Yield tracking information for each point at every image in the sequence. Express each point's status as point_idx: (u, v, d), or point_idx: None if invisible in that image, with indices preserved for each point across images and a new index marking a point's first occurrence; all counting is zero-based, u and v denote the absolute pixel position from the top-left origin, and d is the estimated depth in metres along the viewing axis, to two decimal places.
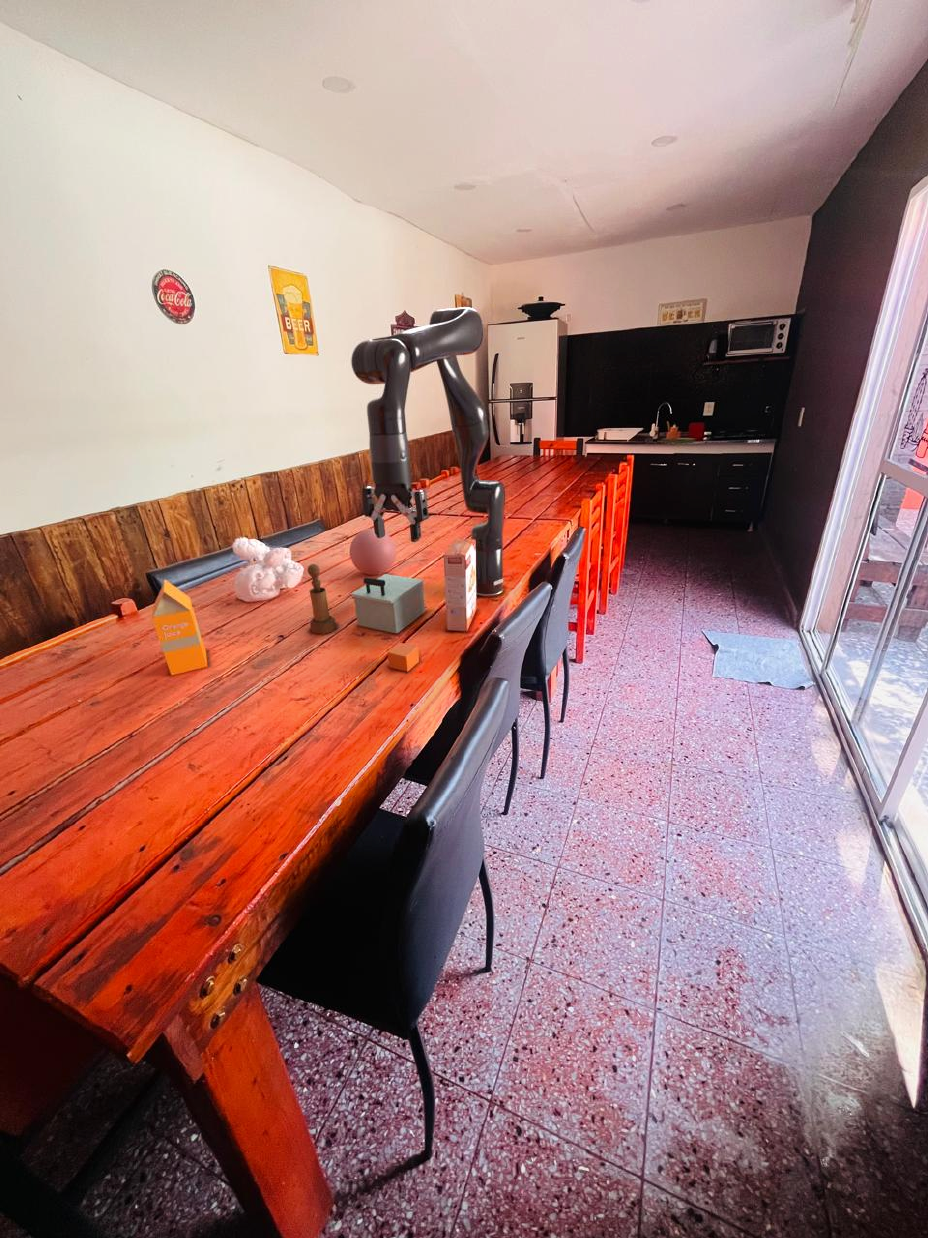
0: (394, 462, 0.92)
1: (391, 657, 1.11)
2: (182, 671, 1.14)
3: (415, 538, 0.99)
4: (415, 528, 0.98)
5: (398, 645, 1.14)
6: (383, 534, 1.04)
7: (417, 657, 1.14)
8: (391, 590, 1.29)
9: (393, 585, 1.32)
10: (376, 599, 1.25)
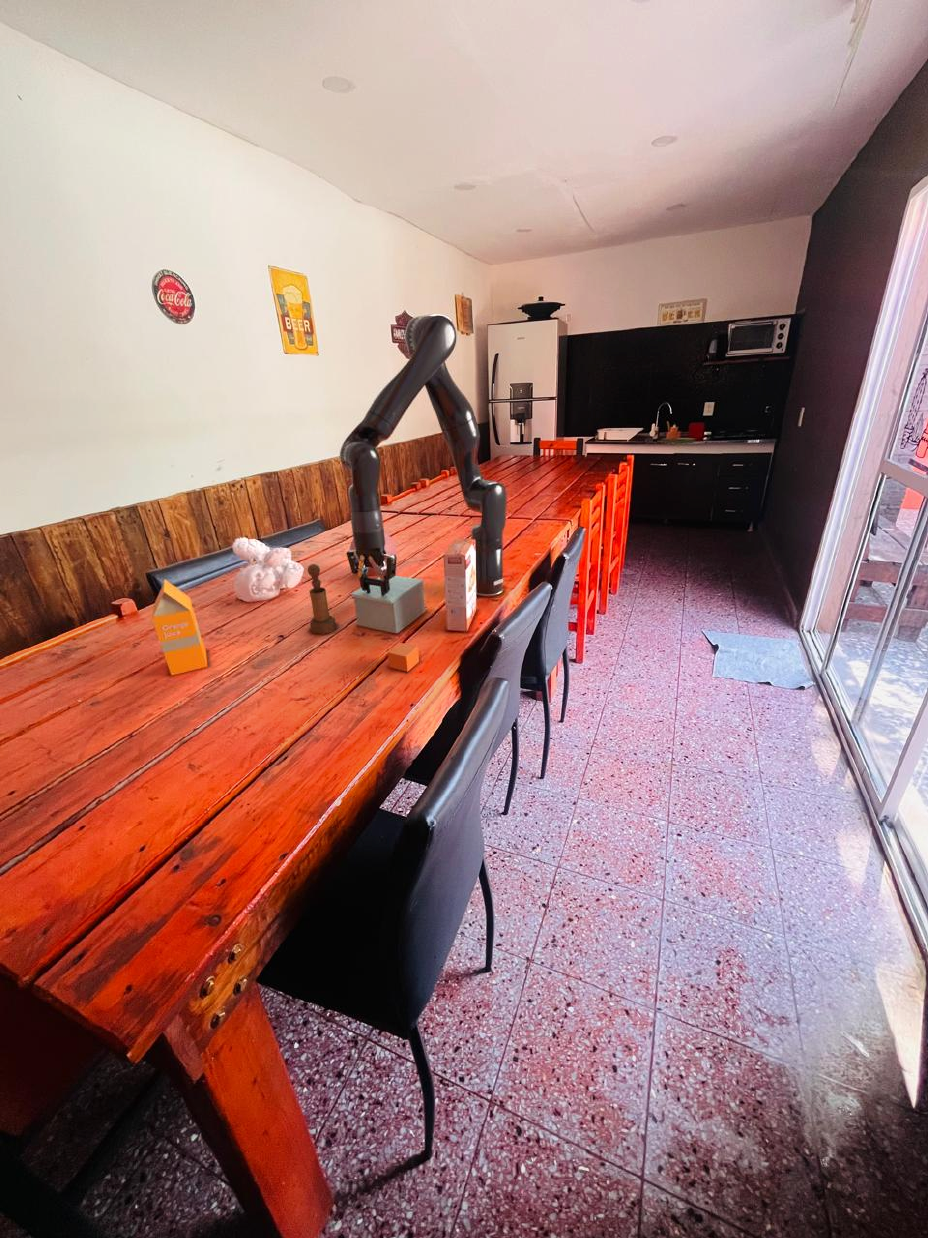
0: (370, 532, 1.16)
1: (391, 657, 1.11)
2: (182, 671, 1.14)
3: (385, 591, 1.24)
4: (384, 584, 1.23)
5: (398, 645, 1.14)
6: None
7: (417, 657, 1.14)
8: (391, 590, 1.29)
9: (393, 585, 1.32)
10: (376, 599, 1.25)
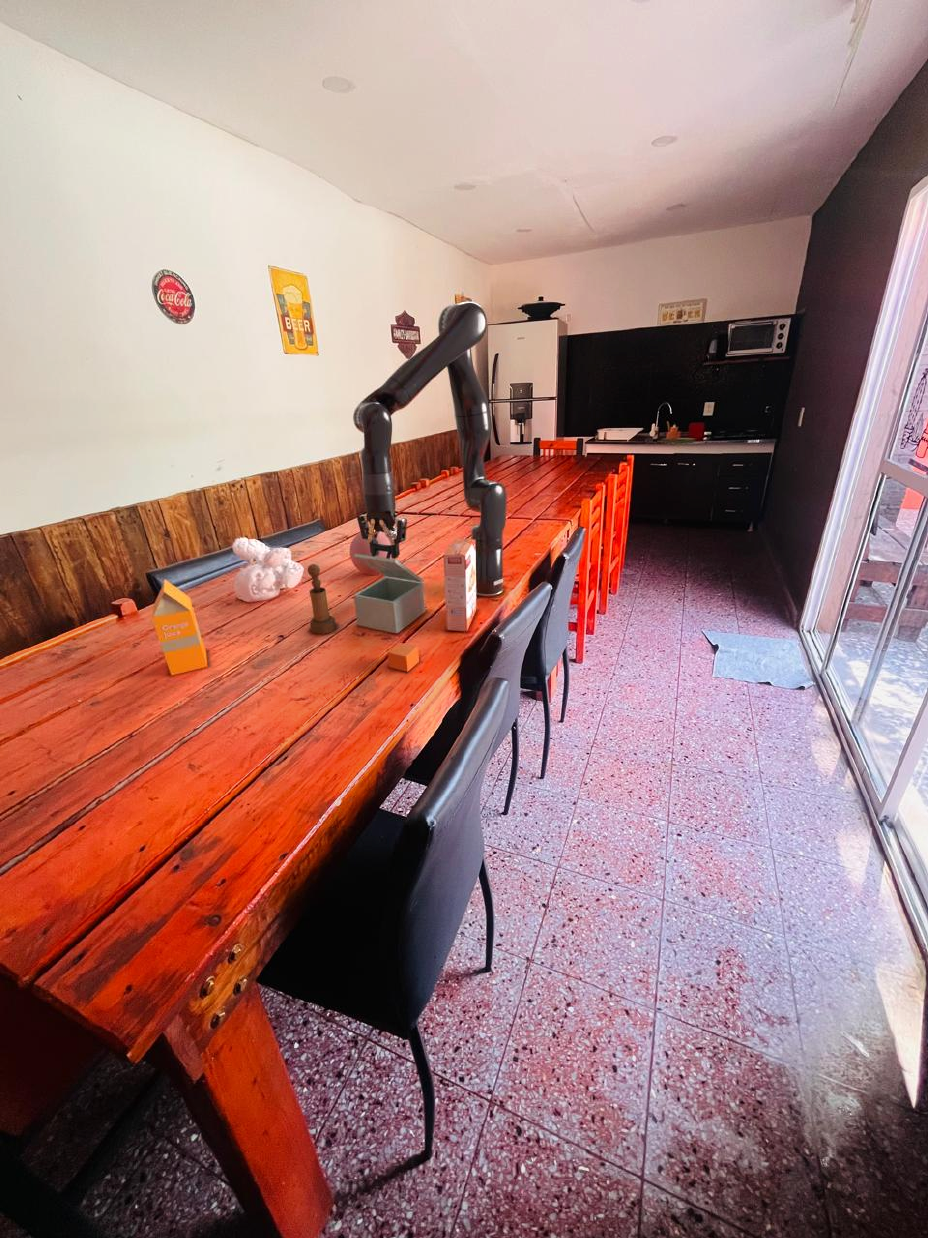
0: (381, 494, 1.18)
1: (391, 657, 1.11)
2: (182, 671, 1.14)
3: (395, 556, 1.26)
4: (394, 548, 1.25)
5: (398, 645, 1.14)
6: (377, 553, 1.29)
7: (417, 657, 1.14)
8: None
9: None
10: (380, 558, 1.23)
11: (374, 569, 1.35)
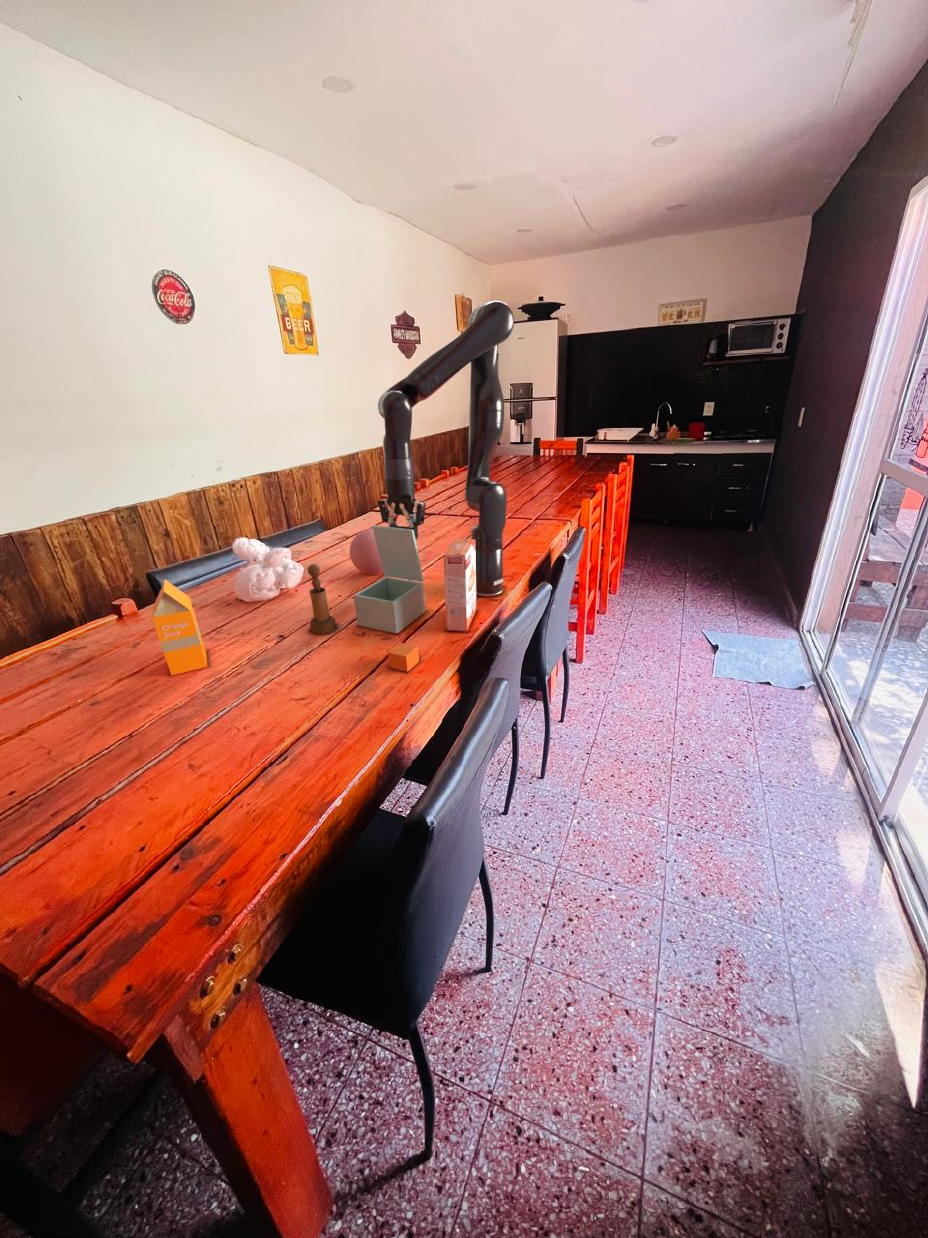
0: (402, 479, 1.25)
1: (391, 657, 1.11)
2: (182, 671, 1.14)
3: None
4: None
5: (398, 645, 1.14)
6: None
7: (417, 657, 1.14)
8: None
9: None
10: (398, 528, 1.28)
11: (380, 557, 1.37)
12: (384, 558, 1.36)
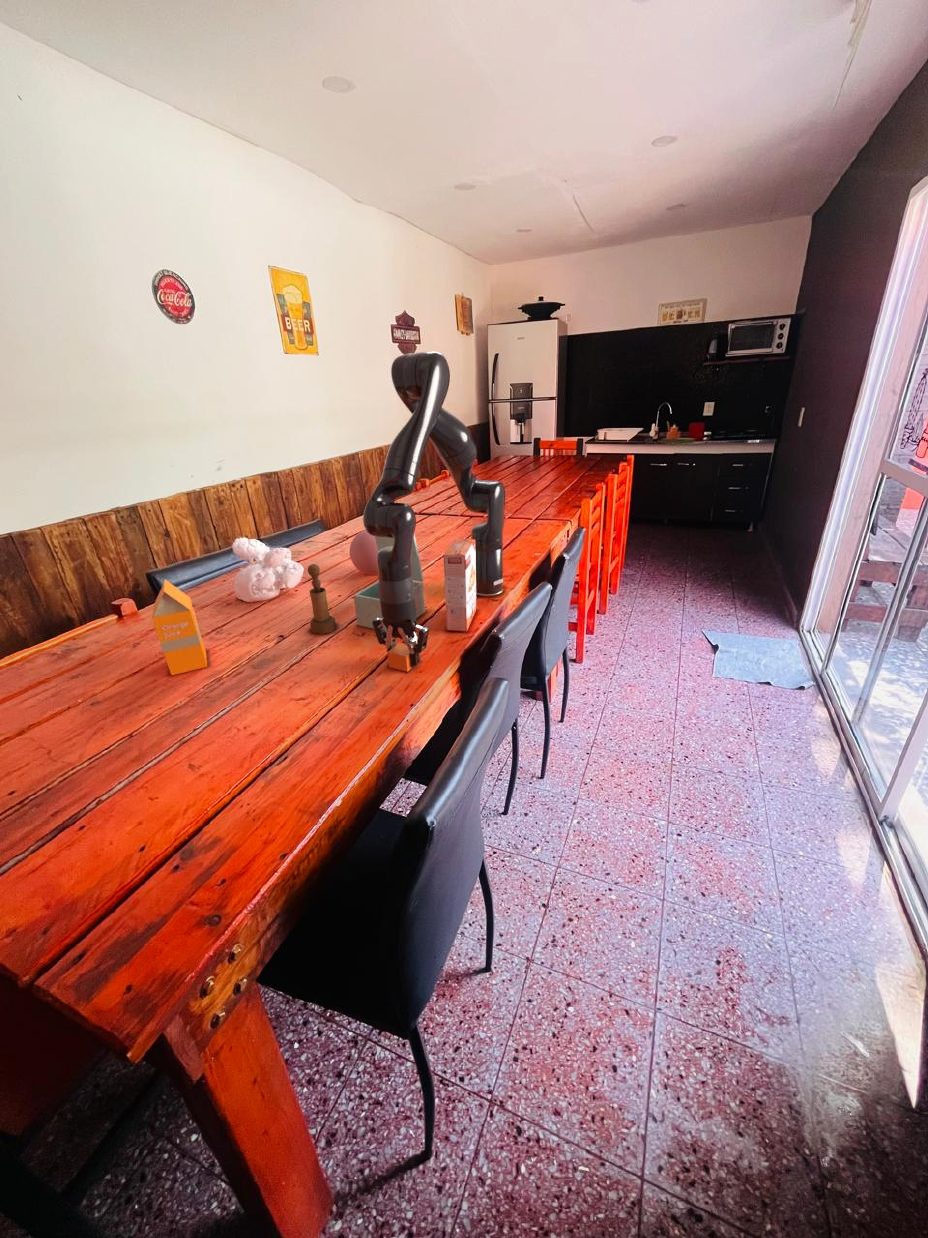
0: (400, 603, 1.03)
1: (391, 657, 1.11)
2: (182, 671, 1.13)
3: (414, 664, 1.11)
4: (414, 656, 1.10)
5: (398, 645, 1.14)
6: None
7: None
8: None
9: None
10: None
11: None
12: None
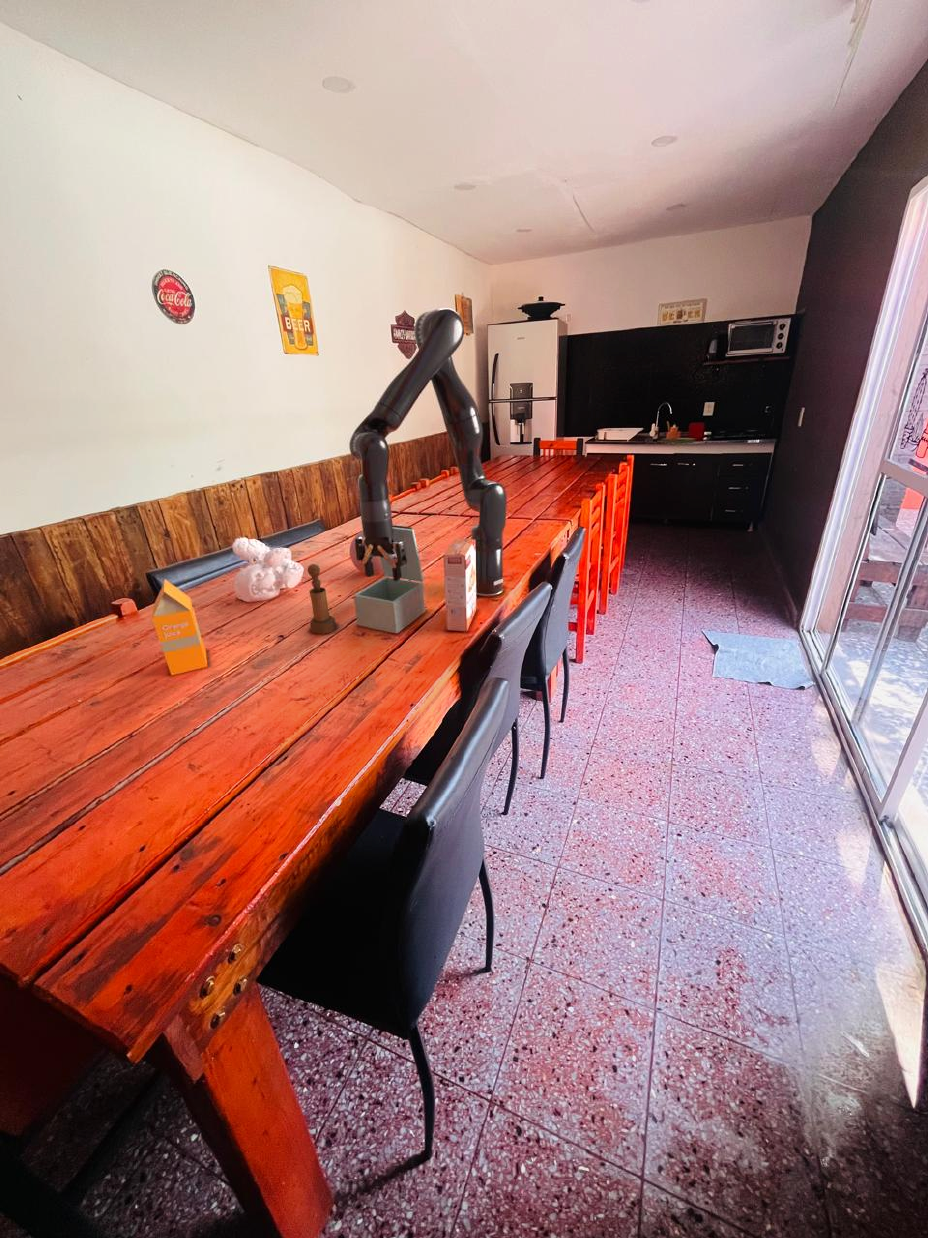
0: (379, 521, 1.19)
1: None
2: (182, 671, 1.13)
3: (396, 578, 1.26)
4: (396, 571, 1.25)
5: None
6: (372, 574, 1.31)
7: None
8: None
9: None
10: (398, 528, 1.28)
11: (380, 557, 1.37)
12: (384, 558, 1.36)
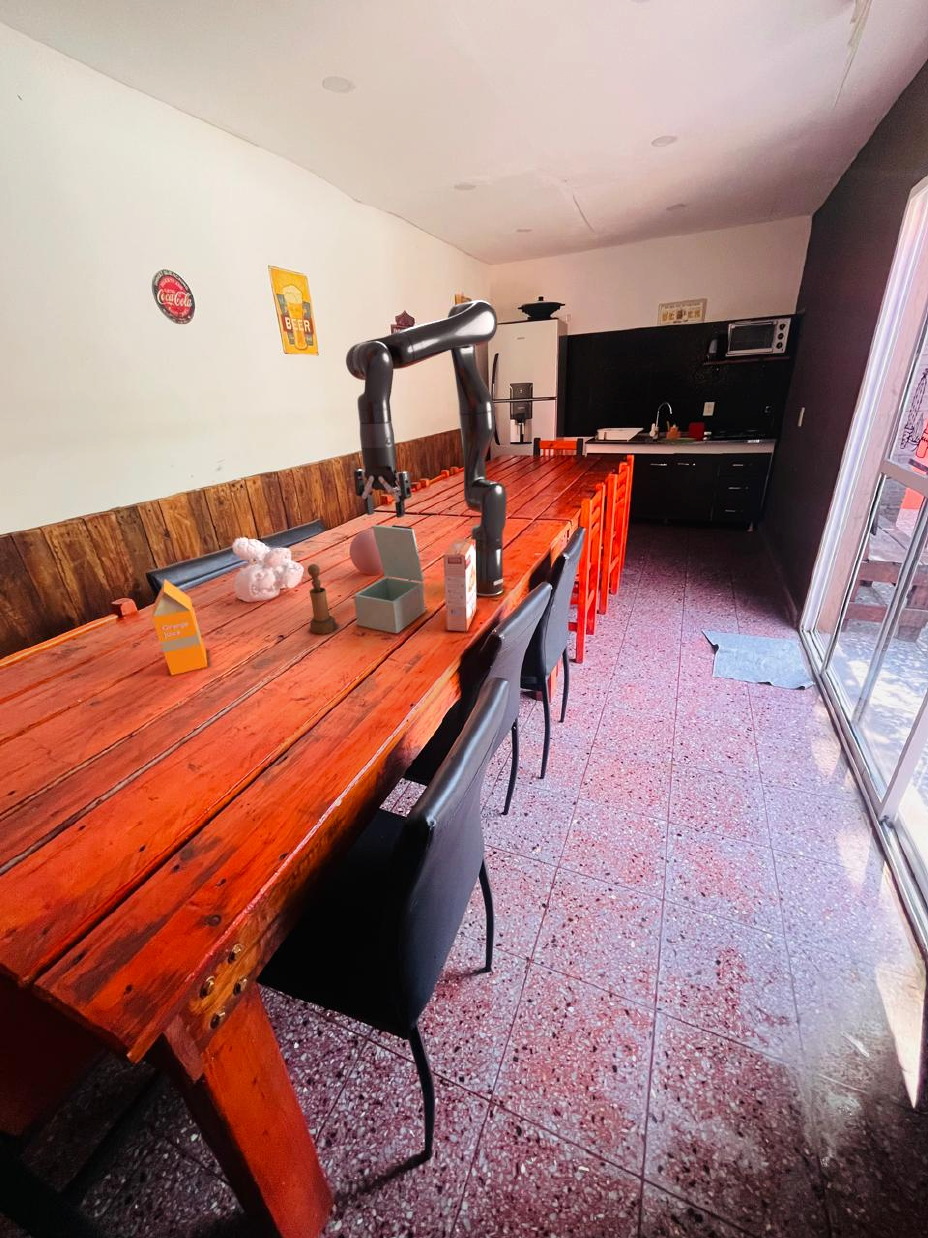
0: (380, 447, 1.07)
1: None
2: (182, 671, 1.13)
3: (400, 514, 1.15)
4: (400, 505, 1.14)
5: None
6: (372, 512, 1.19)
7: None
8: None
9: None
10: (398, 528, 1.28)
11: (380, 557, 1.37)
12: (384, 558, 1.36)
